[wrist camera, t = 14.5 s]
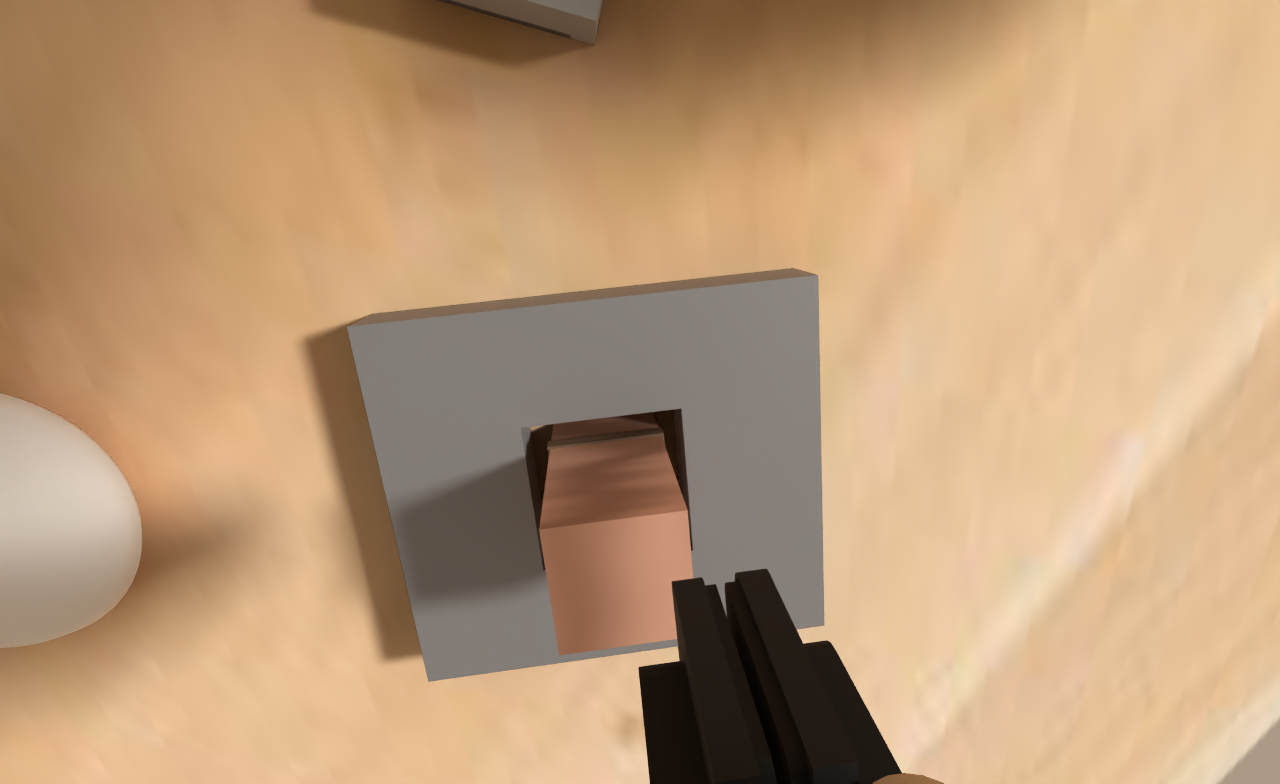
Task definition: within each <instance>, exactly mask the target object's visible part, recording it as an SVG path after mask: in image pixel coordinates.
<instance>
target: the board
mask: <svg viewBox="0 0 1280 784" xmlns="http://www.w3.org/2000/svg"><path fill="white" fill-rule="evenodd" d="M347 331H348V335H349V339H350V344H351V348H352V352H353V357H354V361H355V365H356V370H357V374H358V378H359V383H360V387H361V391H362V396H363V400H364V404H365V409H366V413H367V417H368V422H369V426H370V430H371V435H372V439H373V443H374V448H375V452H376V456H377V461H378V465H379V469H380V474H381V478H382V482H383V487H384V491H385V495H386V500H387V504H388V508H389V513H390V517H391V521H392V526H393V530H394V534H395V539H396V543H397V547H398V552H399V556H400V560H401V565H402V569H403V573H404V578H405V582H406V586H407V591H408V595H409V599H410V604H411V608H412V612H413V617H414V621H415V625H416V630H417V634H418V638H419V643H420V647H421V651H422V656H423V660H424V664H425V669H426V673H427V677H428V682H429V681H436V680H443V679H450V678H457V677H464V676H471V675H478V674H486V673H493V672H500V671H507V670H514V669H521V668H528V667H535V666H542V665H549V664H556V663H563V662H570V661H577V660H584V659H591V658H598V657H605V656H612V655H619V654H626V653H634V652H641V651H648V650H655V649H662V648H669V647H676V646H678V641H677V639H673V640H666V641H659V642H652V643H644V644H637V645H630V646H623V647H616V648H609V649H602V650H595V651H588V652H580V653H573V654H566V655H559V652H558V645H557V639H556V633H555V626H554V620H553V614H552V608H551V601H550V595H549V589H548V582H547V576H546V570H545V563H544V557H543V551H542V544H541V538H540V532H539V527H540V519H541V512H542V501H541V495H540V488H539V482H538V476H537V469H536V463H535V456H534V450H533V443H532V437H531V430H530V427H532V426H540V425H548V424H557V423H565V422H573V421H582V420H590V419H598V418H607V417H615V416H623V415H632V414H640V413H648V412H657V411H665V410H673V412H674V423H675V435H676V446H677V458H678V469H679V481H680V490H681V493H682V496H683V499H684V501H685V504H686V507H687V510H688V521H689V533H690V545H691V557H692V569H693V578H699V577H702V578H703V580H704V583H705V585H712V584H716V586H717V589H718V592H719V595H720V598H721V601H722V604H723V607H724V610H725V613H726V601H725V583H726V582H734V581H735V573H736V572H743V571H751V570H758V569H765V568H766V569H767V570H768V571H769V573H770V575H771V577H772V579H773V581H774V583H775V586H776V588H777V590H778V592H779V594H780V596H781V598H782V600H783V602H784V605H785V607H786V609H787V611H788V613H789V615H790V617H791V619H792V621H793V624H794V626H795V628H796V629H803V628H810V627H817V626H824V582H823V525H822V467H821V410H820V352H819V295H818V275H816V274H812V273H809V272H805V271H802V270H798V269H794V268H791V269H782V270H773V271H764V272H755V273H745V274H736V275H727V276H718V277H708V278H699V279H690V280H681V281H672V282H662V283H653V284H644V285H635V286H626V287H616V288H607V289H598V290H589V291H580V292H570V293H561V294H552V295H543V296H534V297H524V298H515V299H506V300H497V301H488V302H478V303H469V304H460V305H451V306H441V307H432V308H423V309H414V310H405V311H395V312H386V313H377V314H371V315H369V316H367V317H365V318H363V319H361V320H359V321H357V322H355V323H353V324H351V325H349V326H347ZM726 616H727V614H726Z"/></svg>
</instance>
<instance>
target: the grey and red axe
mask: <svg viewBox="0 0 1280 784" xmlns="http://www.w3.org/2000/svg"><path fill="white" fill-rule="evenodd" d="M439 1H443V2H446V3H450V4H453V5H456V6H460V7H463V8H467V9H470V10H474V11H477V12H481V13H484V14H488V15H491V16H495V17H498V18H501V19H505V20H508V21H512V22H515V23H519V24H522V25H526V26H529V27H533V28H536V29H539V30H543V31H546V32H550V33H553V34H557V35H560V36H564V37H567V38H571V39H574V40H578V41H581V42H584V43H588V44H591V45H594V44H595V39H596V34H597V29H598V24H599V19H600V14H601V9H602V5H603V0H439Z"/></svg>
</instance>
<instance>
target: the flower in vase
mask: <svg viewBox="0 0 1280 784" xmlns="http://www.w3.org/2000/svg"><path fill="white" fill-rule="evenodd" d="M141 553H142V525H141V517H140V512H139V508H138V504H137V501H136V498H135V495H134V493H133V491H132V488H131V486H130V484H129V482H128V481H127V479H126V477H125V476H124V474H123V472H122V470H121V469H120V468H119V467H118V465H117V464H116V463H115V461H114V460H113V459H112V457H111V456H110V455H109V454H108V453H107V452H106V451H105V450H104V449H103V448H102V447H101V446H100V445H99V444H98V443H97V442H96V441H95V440H94V439H93V438H91V437H90V436H89V435H88V434H87V433H85V432H84V431H83V430H82V429H80V428H79V427H77V426H76V425H74V424H73V423H71V422H70V421H68V420H66V419H65V418H63V417H61V416H59V415H57V414H55V413H53V412H51V411H49V410H47V409H45V408H42V407H40V406H37V405H35V404H32V403H30V402H27V401H24V400H21V399H18V398H15V397H12V396H8V395H5V394H1V393H0V648H10V647H23V646H29V645H34V644H40V643H43V642H46V641H50V640H53V639H56V638H59V637H62V636H65V635H68V634H70V633H73V632H76V631H78V630H80V629H82V628H85V627H87V626H89V625H91V624H92V623H94V622H96V621H97V620H99V619H100V618H102V617H103V616H105V615H106V614H107V613H108V612H109V611H110V610H112V609H113V608H114V607H115V606H116V605H117V604H118V603H119V601H120V600H121V599H122V598H123V597H124V595H125V594H126V592H127V591H128V589H129V587H130V586H131V584H132V582H133V580H134V578H135V575H136V573H137V570H138V567H139V562H140V558H141Z"/></svg>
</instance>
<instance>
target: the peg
mask: <svg viewBox="0 0 1280 784" xmlns="http://www.w3.org/2000/svg"><path fill="white" fill-rule="evenodd" d="M547 450H548V457H549V460H548V467H547V475H546V482H545V490H544V497H543V505H542V512H541V519H540V527H539V532H540V538H541V544H542V551H543V557H544V563H545V570H546V576H547V582H548V589H549V595H550V601H551V608H552V614H553V620H554V626H555V633H556V639H557V645H558V652H559V655H566V654H573V653H580V652H588V651H595V650H602V649H609V648H616V647H623V646H630V645H637V644H644V643H652V642H659V641H666V640H673V639H677V631H676V622H675V613H674V603H673V594H672V581H677V580H685V579H692V578H693V569H692V557H691V545H690V533H689V521H688V510H687V507H686V504H685V501H684V499H683V496H682V493H681V490H680V487H679V484H678V481H677V479H676V476H675V473H674V470H673V467H672V464H671V461H670V459H669V456H668V453H667V450H666V447H665V441H664V432H663V430H662V427H661V428H659V427H658V424H657V421H656V418H655V416H654V413H653V412H648V413H640V414H632V415H623V416H615V417H607V418H598V419H590V420H582V421H573V422H565V423H557V424H553V430H552V438H551V441H548V444H547Z"/></svg>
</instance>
